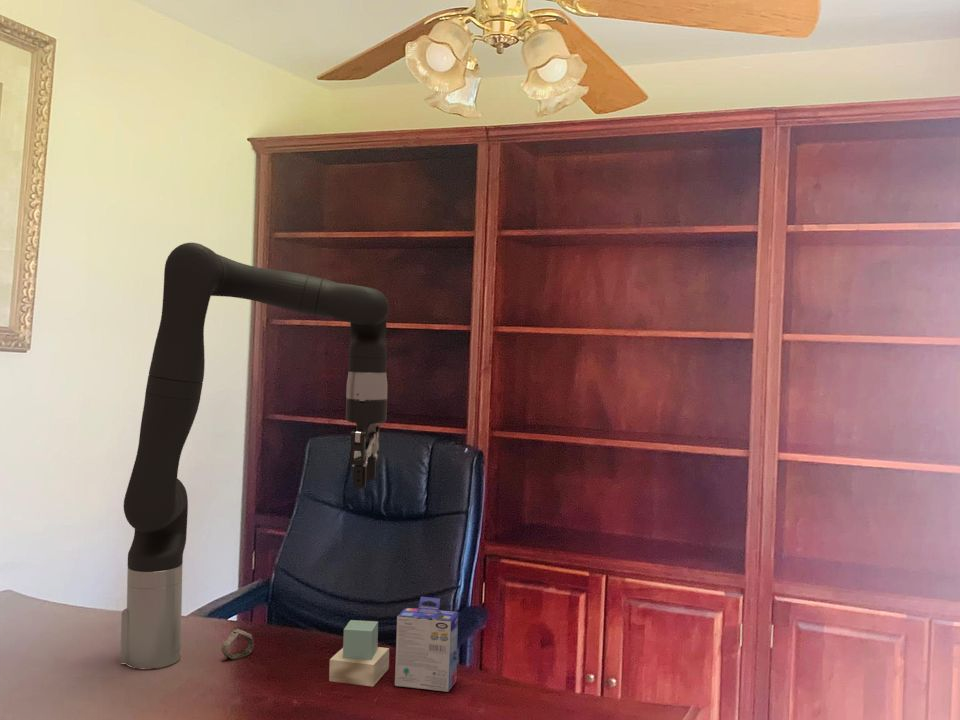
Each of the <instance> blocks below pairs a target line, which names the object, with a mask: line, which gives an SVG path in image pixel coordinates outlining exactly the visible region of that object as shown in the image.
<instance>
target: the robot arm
mask: <svg viewBox="0 0 960 720" xmlns="http://www.w3.org/2000/svg"><path fill="white" fill-rule="evenodd" d="M163 270H164V272H163V273H164V274H163V289H162V290H163V291H162V292H163V293H162V306H161V307H162V308H161V317H160V323H159V325H158V331H157V333H156V335H157V336H156V338H155V342H154V347H153V352H152V356H151V362H150V366H149V370H148V376H147V382H146V388H145V393H144V395H145V396H144V402H143V410H142V414H141V415H142V416H141V422H140V429H139V438H138V446H137V452H136V456H135V461H134V464H133V467H132V469H131V475H130V477H129V481H128V485H127V488H126V491H125V495H124V499H123V513H124V516H125V519H126V521H127V522H128V524H129V525H130V526H131V527H132V528H133V530H134V534H133V539H132V542H131V546H130V549H129V550H128V554H127V574H126V575H127V580H126V583H127V585H126V587H127V588H126V608H125V609H123V610H121V621H120V623H121V626H120V627H121V630H120V664H121V663H126V664H128V665H130V666H132V667H135V668H145V669H144V670H152V669H151V668H156V669H161V668H165V667H168V666H171V665H174V664H176V663H177V662H178V661H179V660H180V659H181V652H182V651H181V650H182V643H181V642H182V605H183V604H182V602H183V601H182V600H183V599H182V598H183V562H184V560H183V559H184V552H185V547H186V543H187V532H188V531H187V529H188V511H189V499H188V493H187V490H186V487H185V486H184V484H183V482H182V481H181V480H180V479H179V478H178V475H179V474H178V473H179V467H180V466H179V464H180V459H181V456H182V452H183V449H184V446H185V444H186V441H187V439H188V436H189V434H190V432H191V429H192V427H193V424H194V421H195V418H196V416H197V413H198V410H199V405H200V401H201V395H202V389H203V384H204V383H203V382H204V379H205V378H204V377H205V365H206V364H205V362H206V361H205V339H204V338H205V337H204V335H205V334H204V332H205V324H206V323H205V322H206V317H207V312H208V309H209V304H210V300H211V297H225V298H226V297H229V298H237V299H244V300H249V301H253V302H257V303H261V304H266V305H269V306H272V307H276V308H279V309H284V310H287V311H291V312H296V313H301V314H306V315H310V316H313V317H314V316H316V317H320V318H332V319H336V320H340V321H343V322H348V323H350V325H349V326H350V329H349V330H350V344H349V351H348V371H347V372H348V373H347V374H348V375H347V380H346V396H345V397H346V398H345V399H346V401H345V402H346V403H345V420H346V422H347V423H353V424H354V423H355V424H356V428H355V430H351V432H350V451H349V453H350V454H349V465H351V466H352V467H353V472H352V473H353V475H352V476H353V478H352V479H353V480H352V483H353V484H352V486H353V488H355V489H364V488H365V487H366V486H367V481H374V480H375V479H376V475H377V474H376V469H377V465H376V464H377V460H378V457H379V455H380V454H381V453H380V430H381V426H380V424H383V423H386V421H387V419H388V418H387V416H388V415H387V413H388V378H387V368H388V367H387V365H388V363H387V362H388V359H387V358H388V357H387V356H388V354H387V353H388V351H387V344H386V339H387V338H386V336H387V322H388V321H387V320H388V314H389V309H390V306H389V305H390V304H389V301H388V299H387V296H385V294H383V292H382V291H380V290H378V289H376V288H373V287H368V286H363V285H357V284H349V283H340V282H335V281H333V280H329V279H327V278H321V277H319V276H313V275H308V274H304V273H299V272H293V271H285V270H277V269H270V268H263V267H259V266H253V265H249V264H246V263H242V262H240V261H236V260H232V259H231V258H227V257H225V256H223V255H220V254H218V253H216V252H215V251H213V250H212V249H211V248H209V247H207V246H205V245H203V244H200V243H197V242H185V243H182V244H180V245H178V246H176V247H175V248H174V249H172V250H171V252H170V254H169V255H167V258H166V261H165V264H164V269H163ZM135 668H134V669H135ZM146 668H147V669H146Z"/></svg>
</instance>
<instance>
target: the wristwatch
mask: <svg viewBox="0 0 960 720" xmlns="http://www.w3.org/2000/svg"><path fill="white" fill-rule="evenodd" d="M238 636H240V637H242V638H244V639H245V640H246V642H247V643H246V644H247V645H246V646H247V647H246V649H245V650H244V651H242V652H236V653H229V652H228V651H229V647H230V645H232V643H233V642H234V641H235V640H236V638H237V637H238ZM254 647H255V645H254V637H253V635H252V634H251V633H249V632H247V631H244V630H242V629H239V628H236V629H233V630H232V631H231V633H230V635H229V636H228V638H227V639H226V640H225V641H224V642H223V644H222V647H221V652H222V655H224V656H225V658H229V659H230V660H238V659H242V658H244V657H247V656H249V655H250V654H251V653H252V651H253V649H254Z"/></svg>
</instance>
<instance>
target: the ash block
mask: <svg viewBox="0 0 960 720" xmlns="http://www.w3.org/2000/svg"><path fill="white" fill-rule="evenodd" d="M389 669H390V648H389V647H382V646H381V647H380V646H377V651H376V653H375V655H374V656H373V658H372V660H363V659H346V658H343V647H342V648H341V649H340V650H338V651H337V652H336V653H335V654H334V655H332V657H331V658H329V669H328V670H329V673H328V679H329V680H328V681H329V682H334V683H342V684H348V685H349V684H351V685H357V686H366V687H374V686H375V685H376V684H377V683H378V682H379V680H380V679H381V678H382V677H383V676H384V675H385V673H387V671H388V670H389Z"/></svg>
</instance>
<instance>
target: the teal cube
mask: <svg viewBox="0 0 960 720" xmlns="http://www.w3.org/2000/svg"><path fill="white" fill-rule="evenodd" d="M346 624H347V625H346V626H345V627H344V628H343V639H342V640H343V641H342V642H343V643H342V648H343V658H346V659H363V660H372V658H373V656H374V655H375V653H376V651H377V647H378V644H379V643H378V642H379V641H378V639H379V637H378V636H379V621H377V620H376V621H375V620H356V619H355V620H354V619H350V620H349V621H348V623H346Z"/></svg>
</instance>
